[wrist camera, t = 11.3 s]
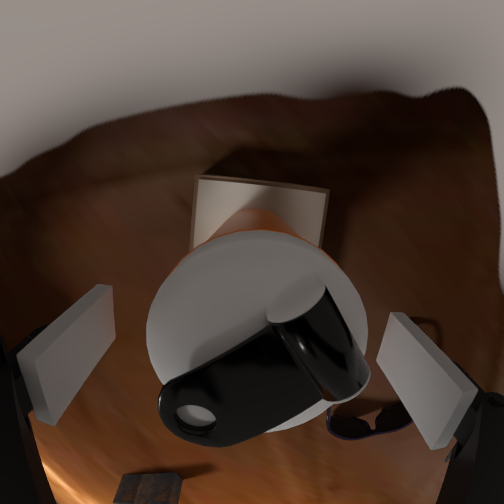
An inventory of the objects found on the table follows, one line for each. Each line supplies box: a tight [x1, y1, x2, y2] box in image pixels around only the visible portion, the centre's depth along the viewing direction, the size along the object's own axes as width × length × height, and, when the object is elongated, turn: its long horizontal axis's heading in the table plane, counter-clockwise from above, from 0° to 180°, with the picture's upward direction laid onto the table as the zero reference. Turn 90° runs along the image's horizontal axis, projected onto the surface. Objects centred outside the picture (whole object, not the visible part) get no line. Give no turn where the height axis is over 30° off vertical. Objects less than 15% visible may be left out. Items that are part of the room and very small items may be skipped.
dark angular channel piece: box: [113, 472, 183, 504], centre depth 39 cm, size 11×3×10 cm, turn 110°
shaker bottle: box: [146, 209, 370, 448], centre depth 19 cm, size 9×9×20 cm
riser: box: [189, 174, 330, 252], centre depth 31 cm, size 12×12×4 cm
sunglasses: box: [326, 402, 413, 440], centre depth 35 cm, size 14×16×5 cm
